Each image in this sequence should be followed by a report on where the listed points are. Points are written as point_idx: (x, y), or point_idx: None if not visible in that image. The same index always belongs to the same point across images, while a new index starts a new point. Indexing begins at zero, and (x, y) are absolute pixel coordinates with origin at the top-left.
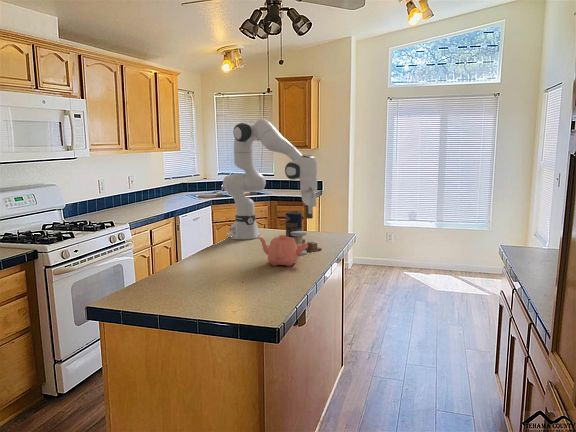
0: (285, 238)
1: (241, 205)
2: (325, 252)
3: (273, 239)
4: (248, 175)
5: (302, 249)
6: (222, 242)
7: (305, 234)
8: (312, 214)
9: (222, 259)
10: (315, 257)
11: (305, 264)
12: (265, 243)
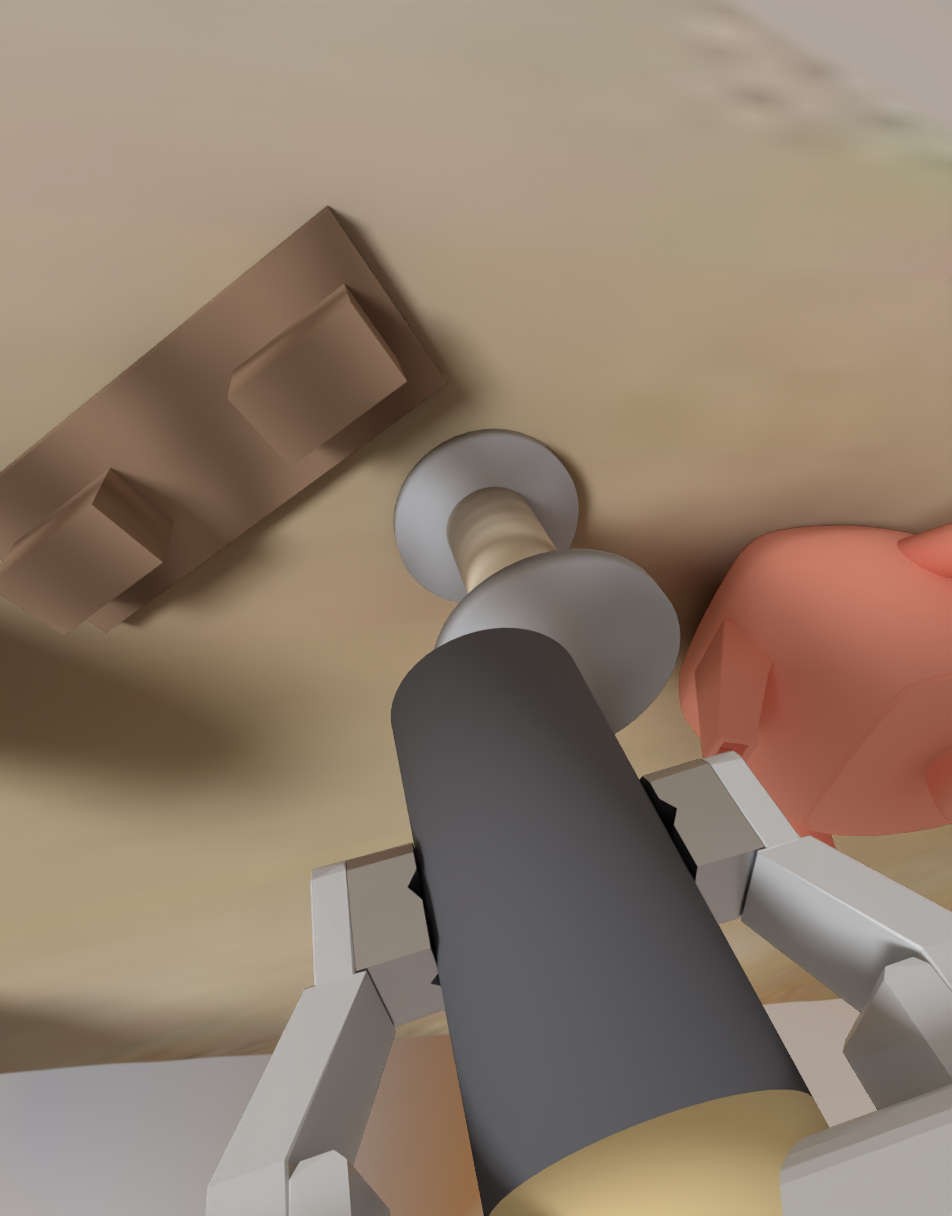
0: (912, 750)
1: None
2: (475, 147)
3: (890, 826)
4: None
5: None
6: (80, 1064)
7: (634, 566)
8: (565, 706)
9: None
10: (699, 323)
11: (901, 433)
12: (823, 841)
